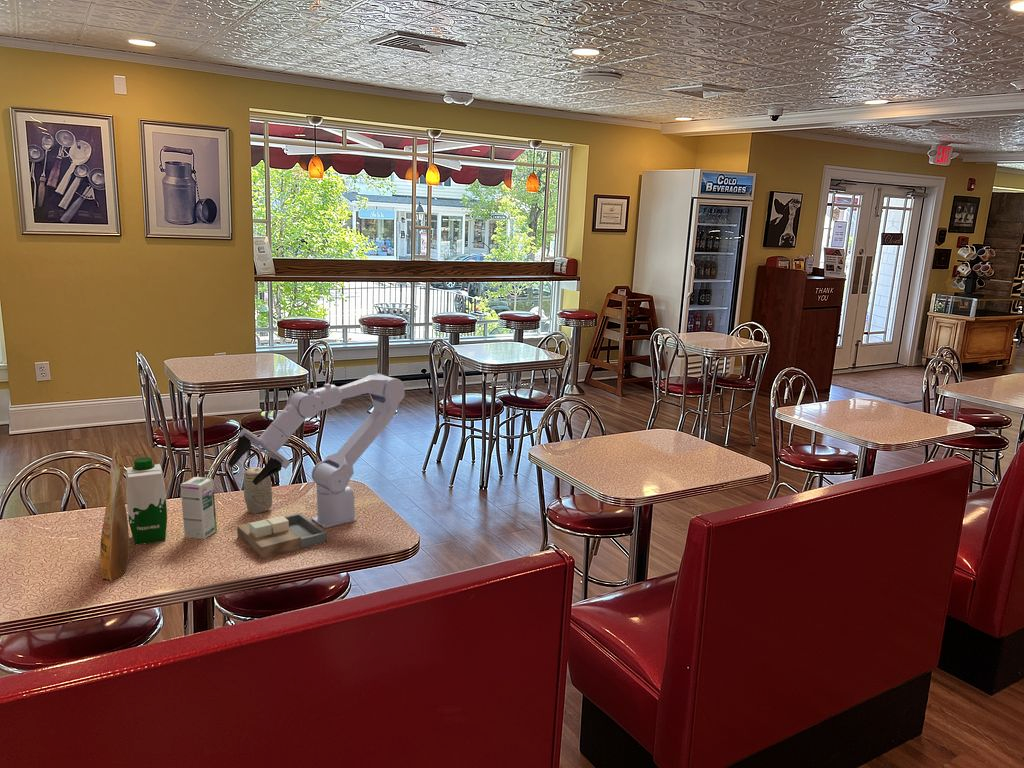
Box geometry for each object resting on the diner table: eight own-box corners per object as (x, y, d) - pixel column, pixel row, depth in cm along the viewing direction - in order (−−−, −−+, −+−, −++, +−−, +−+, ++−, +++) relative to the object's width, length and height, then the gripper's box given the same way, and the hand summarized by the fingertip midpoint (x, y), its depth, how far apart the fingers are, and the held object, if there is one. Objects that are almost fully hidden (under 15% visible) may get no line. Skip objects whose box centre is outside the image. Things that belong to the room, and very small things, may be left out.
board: (275, 527, 203) (275, 517, 202) (301, 548, 191) (300, 537, 190) (237, 536, 197) (237, 525, 196) (261, 558, 185) (261, 547, 184)
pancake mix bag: (136, 548, 189) (127, 438, 183) (132, 582, 172) (122, 462, 166) (105, 552, 186) (95, 440, 180) (98, 587, 169) (87, 465, 163)
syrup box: (204, 539, 195) (201, 485, 191) (183, 537, 196) (179, 483, 193) (217, 531, 200) (214, 478, 197) (196, 528, 201) (193, 475, 198)
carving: (241, 510, 215) (239, 468, 212) (268, 504, 219) (266, 464, 216) (249, 517, 210) (247, 475, 207) (276, 511, 214) (274, 470, 212)
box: (300, 521, 207) (300, 513, 207) (327, 541, 195) (327, 532, 195) (275, 527, 203) (275, 518, 203) (301, 548, 191) (300, 539, 191)
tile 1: (265, 528, 195) (265, 519, 194) (271, 534, 192) (271, 524, 191) (249, 532, 192) (249, 523, 192) (255, 537, 189) (255, 528, 189)
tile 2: (282, 524, 198) (282, 515, 197) (288, 529, 195) (288, 520, 194) (267, 528, 195) (266, 519, 195) (273, 533, 192) (273, 524, 192)
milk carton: (167, 528, 201) (161, 455, 196) (169, 541, 193) (164, 465, 189) (129, 534, 197) (123, 459, 192) (130, 547, 189) (124, 469, 185)
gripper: (253, 410, 191) (214, 452, 186) (299, 443, 189) (261, 487, 184) (259, 419, 197) (222, 461, 192) (303, 451, 195) (267, 494, 190)
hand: (241, 474), depth 189 cm, fingers open, 7 cm apart
